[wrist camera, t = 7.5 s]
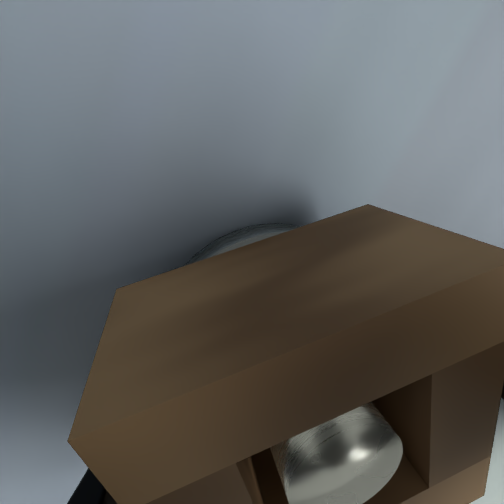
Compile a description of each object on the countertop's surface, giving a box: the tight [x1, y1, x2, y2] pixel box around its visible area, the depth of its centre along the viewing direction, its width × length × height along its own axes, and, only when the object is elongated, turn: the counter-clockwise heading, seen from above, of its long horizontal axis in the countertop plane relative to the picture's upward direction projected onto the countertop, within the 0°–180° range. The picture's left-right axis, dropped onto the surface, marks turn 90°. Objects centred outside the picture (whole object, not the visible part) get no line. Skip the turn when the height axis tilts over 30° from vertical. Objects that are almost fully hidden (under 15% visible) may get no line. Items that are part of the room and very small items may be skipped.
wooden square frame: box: [68, 204, 504, 504], centre depth 7 cm, size 7×7×4 cm
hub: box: [185, 224, 403, 504], centre depth 8 cm, size 7×7×5 cm
